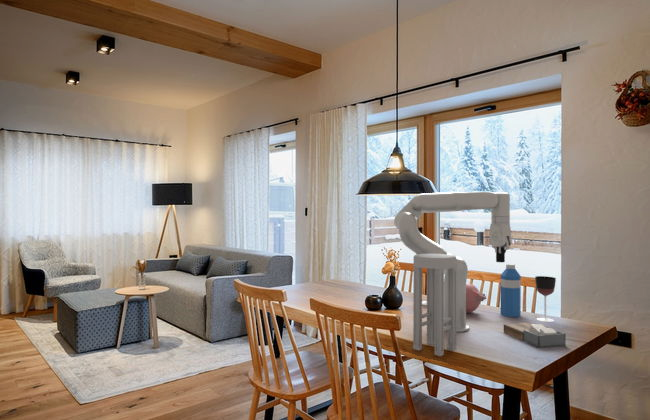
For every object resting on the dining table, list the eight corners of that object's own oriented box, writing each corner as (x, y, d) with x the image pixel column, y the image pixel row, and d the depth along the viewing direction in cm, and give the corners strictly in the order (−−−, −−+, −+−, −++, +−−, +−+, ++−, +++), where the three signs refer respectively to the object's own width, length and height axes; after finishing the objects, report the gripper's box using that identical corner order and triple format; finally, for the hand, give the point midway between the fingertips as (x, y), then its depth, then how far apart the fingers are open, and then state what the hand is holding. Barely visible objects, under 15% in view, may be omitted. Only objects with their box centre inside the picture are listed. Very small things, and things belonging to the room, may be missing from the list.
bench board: (522, 340, 173) (522, 332, 173) (503, 332, 184) (503, 324, 184) (548, 338, 176) (548, 330, 176) (527, 330, 187) (528, 322, 187)
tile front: (537, 339, 169) (542, 344, 167) (540, 328, 168) (545, 333, 165) (548, 338, 171) (553, 343, 168) (551, 327, 169) (556, 332, 166)
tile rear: (537, 338, 169) (539, 331, 168) (529, 331, 174) (530, 324, 173) (548, 337, 170) (550, 331, 169) (539, 330, 175) (541, 323, 174)
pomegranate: (475, 320, 205) (475, 287, 205) (442, 311, 222) (442, 281, 222) (495, 315, 214) (495, 284, 214) (462, 307, 231) (462, 278, 231)
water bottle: (522, 317, 210) (523, 265, 210) (502, 316, 212) (502, 265, 212) (518, 313, 219) (518, 263, 219) (498, 312, 221) (498, 263, 221)
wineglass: (554, 322, 201) (555, 279, 200) (534, 320, 205) (534, 277, 205) (556, 319, 207) (556, 277, 207) (536, 316, 212) (536, 275, 212)
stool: (405, 349, 162) (405, 255, 162) (428, 340, 173) (428, 252, 173) (442, 359, 151) (442, 258, 151) (464, 349, 162) (464, 255, 162)
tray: (538, 347, 164) (538, 335, 164) (523, 341, 172) (523, 329, 172) (565, 345, 167) (565, 333, 167) (549, 339, 175) (549, 328, 175)
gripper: (483, 220, 198) (482, 260, 198) (503, 220, 183) (503, 264, 183) (497, 220, 200) (497, 260, 200) (519, 220, 185) (519, 263, 185)
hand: (500, 262), depth 191 cm, fingers closed
